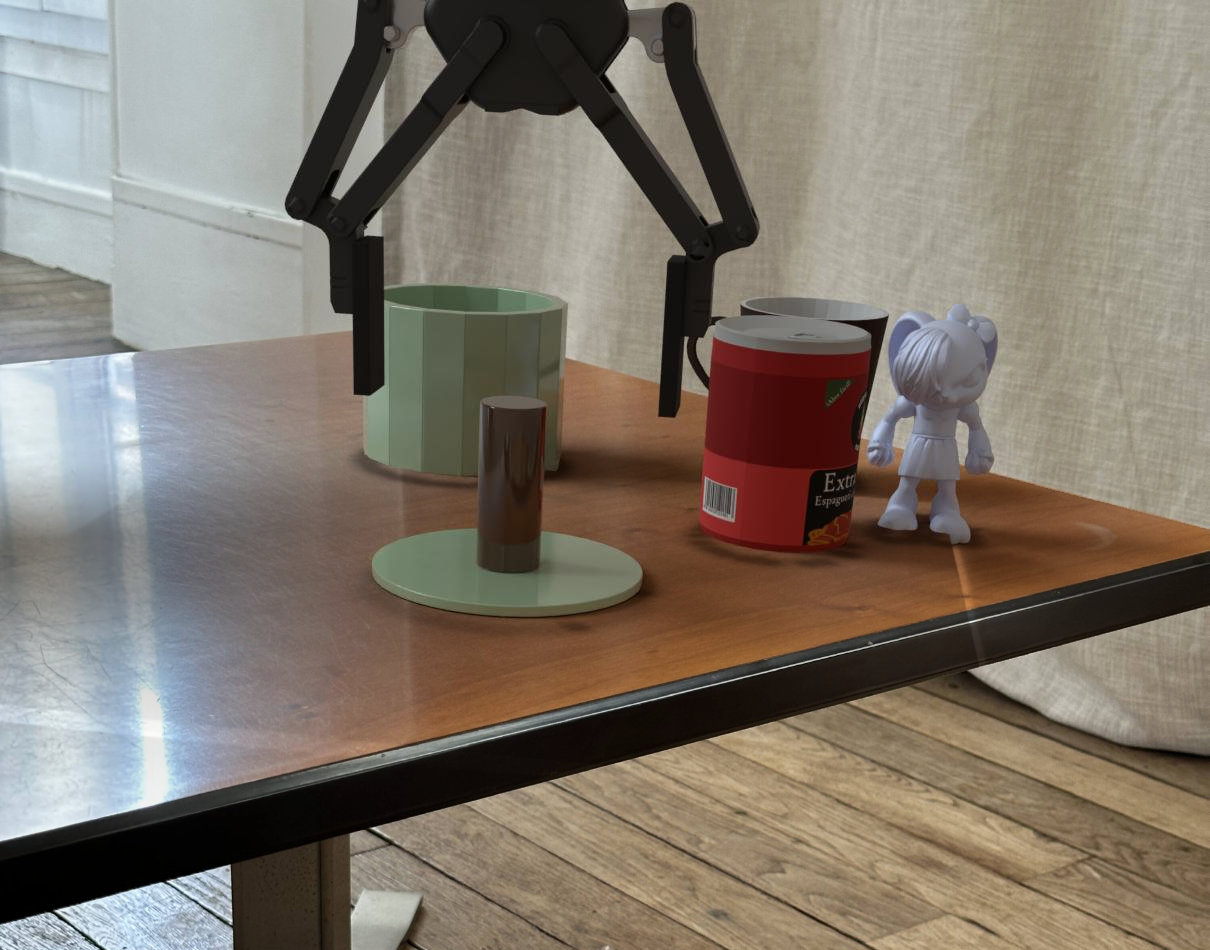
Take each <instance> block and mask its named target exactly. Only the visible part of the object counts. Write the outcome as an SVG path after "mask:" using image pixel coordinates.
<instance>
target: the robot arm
mask: <svg viewBox="0 0 1210 950" xmlns="http://www.w3.org/2000/svg"><path fill="white" fill-rule="evenodd" d="M423 27H424V28H425V31H426V32H427V35H428V37H430V40H431V41H432V43H433V44H434V46H435V47H436V49H437V50H438V52H439V54H440V56H441V58H443V60H444V62H445V63H446V65H445V66H444V67H443V69H441V71H440V72H439V73H438V75H437V76H436V78H434V80H433V81H432V82H431V83H430V85H429V86H428V87H427V88H426V90H425V91H424V92H423V94H422V96H421V97H420V100H419V101H418V102H417V104H416V105H415V106H414V108H413V109H412V110H411V111H410V113H408V115H407V116H406V117H405V119H404V120H403V121H402V122H401V124H400V125H399V126H398V127H397V128H396V130H395V131H394V132H393V133H392V135H391V136H390V137H389V138H388V140H387V141H386V142H385V143H384V145H383V146H382V147H381V148H380V150H379V151H378V152H377V154H376V155H375V156H374V157H373V158H372V160H371V161H369V163H368V165H367V166H365V168H364V169H363V171H362V172H361V173H360V175H359V176H358V177H357V178H356V179H355V181H354V182H353V183H352V184H351V186H350V187H349V188H348V189H347V191H345V193H344V194H343V196H342V197H341V198H340V199H339V198H337V197H335V196H333V194H334V191H335V189H336V187H337V185H338V183H339V181H340V178H341V175H342V173H343V171H344V169H345V167H346V165H347V163H348V160H349V158H350V157H351V154H352V152H353V150H354V147H355V145H356V143H357V141H358V139H359V136H360V134H361V132H362V130H363V127H364V125H365V124H366V121H367V118H368V116H369V114H370V112H371V110H372V108H373V106H374V104H375V101H376V99H377V97H378V95H379V93H380V90H381V88H382V85H383V84H384V81H385V79H386V77H387V75H388V73H389V71H390V68H391V65H392V63H393V61H394V56H395V53H396V50H401V49H405V48H406V47H408V46H409V44H410V43H411V42H412V40H413V39H412V38H413V36H414V34H415V32H416V31H417V30H418V29H420V28H423ZM697 31H698V30H697V16H696V12H695V10H694V9H693V6H690V5H689V4H687V3H685V2H680V1H673V2H671V3H669V4H668V5H666V6H663V7H651V8H639V9H629V8H628V6H627V4H626V0H357V3H356V17H355V27H354V38H353V46H352V48H351V50H350V52H349V55H348V57H347V59H346V61H345V63H344V66H343V68H342V70H341V73H340V75H339V77H338V80H337V81H336V84H335V86H334V88H333V91H332V93H331V95H330V97H329V100H328V102H327V104H326V106H325V108H324V110H323V113H322V115H321V118H320V119H319V122H318V125H317V127H316V129H315V131H314V133H313V136H312V138H311V141H310V143H309V145H308V147H307V149H306V151H305V154H304V157H303V158H302V160H301V163H300V165H299V167H298V170H297V172H296V174H295V177H294V178H293V181H292V183H291V185H290V188H289V190H288V192H287V194H286V196H285V200H284V210H285V212H286V214H287V215H288V216H289V217H290V218H291V219H292V220H296V221H303V222H305V223H307V224H309V225H312V226H314V227H316V228H318V229H319V230H321V232H323V233H324V234H325V236H326V238H327V240H328V246H329V248H328V252H329V253H328V255H329V301H330V304H331V307H332V309H333V312H334V313H335V314H343V315H352V375H353V376H352V384H353V386H352V387H353V389H352V390H353V395H354V396H363V395H364V396H371V395H372V394H373V393H375V392H376V391H377V390H379V389H380V388H381V387H383V386H384V385H385V354H384V286H385V236H384V235H383V236H382V235H368V234H367V235H365V231H366V230H367V229H368V228H369V226H368V225H369V224H370V222H371V221H372V220H373V219H374V217H375V216H377V214H378V213H379V211H380V210H381V209H382V208H383V206H384V205H385V204H386V203H387V202H388V200H389V199H390V198H391V197H392V195H393V194H394V193H395V192H396V191H397V189H398V188H399V187H400V185H401V184H402V183H403V182H405V179H407V177H408V176H409V175H410V174H411V172H412V171H413V170H414V169H415V167H417V165H418V164H419V162H420V161H421V160H422V159H423V158H424V156H425V155H426V154H427V153H428V151H429V150H430V149H431V148H432V147H433V145H434V144H435V143H436V142H437V141H438V139H439V138H440V137H441V136H442V135H443V134H444V132H445V131H446V130H447V129H448V127H449V126H450V125H451V124H452V123H453V122H454V120H455V119H456V118H457V117H458V116H459V115H460V114H462V112H463V111H464V110H465V109H466V108H467V106H468V105H469V104H470V103H472V104H474V105H475V106H476V107H478V108H480V109H482V110H483V111H484V113H497V114H498V113H499V114H503V113H509V112H513V111H519V110H525V111H527V112H531V113H534V114H537V115H539V116H554V117H560V116H564V115H566V114H569V113H571V112H573V111H575V110H576V109H578V108H579V107H580V108H581V109H582V111H583V112H584V114H585V115H586V117H587V118H588V119H589V121H590V122H591V123H592V124H593V126H594V127H595V128H596V129H597V131H599V133H601V135H602V136H603V138H604V139H605V141H606V142H607V143H608V145H609V147H610V148H611V149H612V150H613V152H614V153H615V155H616V156H617V157H618V159H619V160H620V162H621V163H622V165H623V166H624V168H625V169H626V171H627V172H628V173H629V175H630V176H631V177H632V179H633V180H634V182H635V183H636V184H637V186H638V187H639V189H640V190H641V191H642V193H643V195H644V196H645V197H646V198H647V200H648V201H649V203H650V204H651V206H652V207H653V209H654V210H655V211H656V213H657V214H658V216H659V217H660V219H661V220H662V221H663V222H664V224H665V225H666V227H667V228H668V230H669V231H670V233H671V234H672V235H673V236H674V238H675V239H676V241H677V242H678V244H679V245H680V247H681V248H682V249H683V251H684V252H685V255H683V254H682V255H681V254H672V255H671V257H669V259H667V262H666V276H665V290H664V291H665V293H664V310H663V311H664V312H663V326H662V328H663V329H662V344H661V360H660V375H659V376H660V378H659V395H658V408H657V409H658V410H657V417H658V418H668V419H669V418H671V419H676V417H677V415H678V412H679V410H680V408H681V400H682V399H681V398H682V388H683V387H682V384H683V373H684V372H683V371H684V354H685V353H684V352H685V340H686V339H685V338H689V337H696V338H698V339H704V338H705V337H706V334H707V331H708V329H709V325H710V323H711V317H713V316H712V315H713V301H714V300H713V299H714V288H715V273H716V272H715V271H716V264H717V260H718V259H719V258H720V257H722V255H724V254H725V255H726V254H728V253H730V252H733V251H737V250H740V249H745V248H749V247H751V246H752V245H754V244H755V242H756V240H757V239H758V237H759V234H760V230H761V223H760V220H759V218H758V215H757V212H756V210H755V207H754V204H753V202H752V199H751V197H750V194H749V191H748V188H747V186H746V184H745V181H744V178H743V175H742V174H741V171H740V167H739V164H738V163H737V160H736V157H735V155H734V152H733V150H732V147H731V145H730V142H729V139H728V137H727V134H726V131H725V129H724V126H723V124H722V121H721V118H720V116H719V114H718V111H717V108H716V106H715V102H714V100H713V98H712V95H711V92H710V89H709V88H708V83H707V82H706V79H705V77H704V75H703V71H702V68H701V67H700V64H699V54H698V53H699V52H698V51H699V50H698V32H697ZM630 38H636V39H638V40H639V41H640V42H641V43H642V45H643V47H644V50H645V53H646V56H647V57H648V59H649V60H651V62H654V63H655V64H664V67H665V74H666V77H667V81H668V83H669V86H670V89H671V92H672V94H673V97H674V99H675V102H676V105H677V107H678V109H679V112H680V115H681V117H682V120H683V122H684V125H685V127H686V130H687V133H688V135H689V138H690V140H691V143H692V145H693V148H694V150H695V153H696V155H697V159H698V160H699V163H700V166H701V169H702V171H703V174H704V176H705V179H706V182H707V184H708V187H709V189H710V192H711V194H712V197H713V199H714V202H715V205H716V206H717V209H718V212H719V215H720V218H721V220H719V221H716V222H713V223H709V221H708V220H707V219H706V217H705V216H704V215H703V213H702V211H701V210H700V209H699V207H698V206H697V204H696V203H695V202H694V200H693V199H692V197H691V196H690V195H689V193H688V192H687V190H686V189H685V188H684V186H683V184H682V183H681V181H679V178H678V177H677V176H676V174H675V173H674V171H673V169H671V167H670V166H669V164H668V163H667V162H666V160H665V159H664V157H663V156H662V154H661V153H660V151H659V150H658V149H657V147H656V146H655V144H654V143H653V142H652V140H651V139H650V137H649V135H648V134H647V133H646V132H645V130H644V128H643V127H642V126H641V124H640V122H638V121H637V120H638V119H636V118H635V115H634V114H633V113H632V112H631V110H630V108H629V106H628V104H627V103H626V101H625V99H624V98H623V96H622V95H621V94H620V92H619V91H618V89H617V87H615V85H614V84H613V82H612V81H611V80H610V78H609V77H608V75H607V74H606V73H607V72H608V70H609V68H610V67H611V66H612V64H613V63H614V61H615V60H616V59H617V57H618V56H619V55H620V53H621V52H622V51H623V49H624V48H625V46H626V45H627V44H628V43H629V40H630Z"/></svg>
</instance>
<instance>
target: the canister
mask: <svg viewBox="0 0 1210 950" xmlns="http://www.w3.org/2000/svg"><path fill="white" fill-rule="evenodd" d="M568 310H569V302H567V301H566V300H564V299H562V298H560V297H559V296H557V295H552V294H549V293H546V292H545V293H544V292H540V291H535V290H530V289H525V288H524V289H522V288H515V287H510V286H509V287H508V286H501V285H500V286H499V285H488V284H487V285H486V284H484V285H483V284H473V283H447V282H446V283H445V282H444V283H442V282H423V283H422V282H421V283H420V282H419V283H398V284H390V285H384V354H385V385H384V386H383V387H381V388H380V389H379V390H377V391H376V392H375V393H373V394H372V395H371V396H364V395H362V450H363V451H364V454H363V455H364V456H367V457H368V458H369V459H370V460H373V461H376V462H378V463H380V464H383V465H386V466H387V467H393V468H398V469H402V470H406V471H412V472H417V473H423V474H434V475H446V476H454V477H455V476H456V477H478V459H479V420H480V401H481V400H482V399H484V398H487V397H493V396H521V397H529V398H534V399H538V400H541V401H543V402H545V403H546V404H547V416H546V440H545V464H544V471H550V472H551V471H552V472H557V471H558V469H559V467H560V458H561V457H562V444H563V443H562V440H563V422H564V421H563V420H564V419H563V418H564V401H565V400H564V399H565V377H566V355H567V334H568V333H567V332H568V312H569V311H568Z"/></svg>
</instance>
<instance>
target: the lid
mask: <svg viewBox="0 0 1210 950" xmlns="http://www.w3.org/2000/svg"><path fill="white" fill-rule="evenodd" d="M546 416H547V404H546V403H545V402H543V401H541V400H538V399H534V398H529V397H521V396H493V397H487V398H484V399H482V400H481V401H480V420H479V459H478V476H477V504H476V527H474V528H472V527H471V528H456V529H455V528H454V529H445V530H436V531H431V532H425V533H420V534H414V535H411V536H410V535H409V536H407V537H404V538H401V539H397V540H395V541H393V542H390V543H388V544H386V545H384V546H383V547H381V548H379V550H377V551H376V552H375V553H374V555H373V556H372V560H371V575H372V578H373V579H374V581H375V582H376V583H377V585H379V586H380V587H381V588H383V589H384V590H385V591H387V592H389V593H391V594H393V595H395V596H397V597H400V598H402V599H405V600H407V601H411V602H413V603H415V604H420V605H423V606H427V607H430V608H434V609H440V610H445V611H450V612H456V613H457V612H458V613H461V614H462V613H463V614H470V615H471V614H472V615H479V616H480V615H481V616H492V617H509V618H511V617H512V618H514V617H515V618H538V617H539V618H540V617H557V616H558V617H559V616H567V615H575V614H583V613H588V612H594V611H597V610H602V609H603V610H604V609H606V608H610V607H612V606H616V605H618V604H621V603H623V602H625V601H627V600H629V599H630V598H632V597H634V596H635V595H636V594H637V593H638V592H639V591H640V590H641V588H642V586H643V579H644V578H643V577H644V571H643V569H642V566H641V565H640V563H639V562H638V561H637V560H636V559H635V558H634V557H632V556H631V555H629V554H627V553H626V552H625V551H622V550H620V549H618V548H616V547H614V546H610V545H607V544H605V543H602V542H599V541H596V540H592V539H589V538H584V537H579V536H576V535H570V534H566V533H559V532H552V531H545V530H543V513H544V512H543V508H544V506H543V505H544V486H545V485H544V484H545V470H544V464H545V440H546Z"/></svg>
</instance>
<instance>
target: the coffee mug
mask: <svg viewBox="0 0 1210 950" xmlns="http://www.w3.org/2000/svg"><path fill="white" fill-rule="evenodd" d="M739 303H740V304H739V305H740V316H751V315H769V316H789V317H802V318H812V319H819V320H827V321H833V322H838V323H843V324H848V325H852V326H856V327H859V328H861V329H864V330H865V331H867V332H869V333H870V334H871V355H870V363H869V376H868V384H867V392H866V400H865V409H864V417H863V425H862V431H863V429H864V426H865V421H866V416H867V411H868V408H869V404H870V399H871V395H872V391H873V386H874V383H875V377H876V373H877V370H878V364H879V360H880V356H881V351H882V348H883V344H884V338H885V335H886V330H887V326H888V322H889V318H890V312H889V311H887V310H886V309H884V308H881V307H878V306H874V305H870V304H866V303H860V302H856V301H855V302H853V301H848V300H847V301H846V300H839V299H830V298H821V297H820V298H819V297H804V296H761V297H752V298H751V297H750V298H746V299H742V300H741V301H740V302H739ZM724 318H728V316H724V315H723V316H722V315H714V316H712V317H711V323H710V325H709V327H712V326H715V323H716V322H717V321H719V320H721V319H724ZM709 327H708V328H709ZM698 340H699V338H696V337H687V341H686V355H687V360H688V361H689V364H690V366H691V368H692V370H693V371H694V373H695V375H696V376H697V377H698V380H699V381H700V382H701V383H702V385H703V386H704V387H705V389H706V390H707V391H708V392H709V379H710V375H708V374H707V372H706V369H704V367H703V365H702V364H701V362H700V358H699V357H698V354H697V345H698V344H697V343H698ZM862 434H863V432H862V433H861V435H862Z"/></svg>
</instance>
